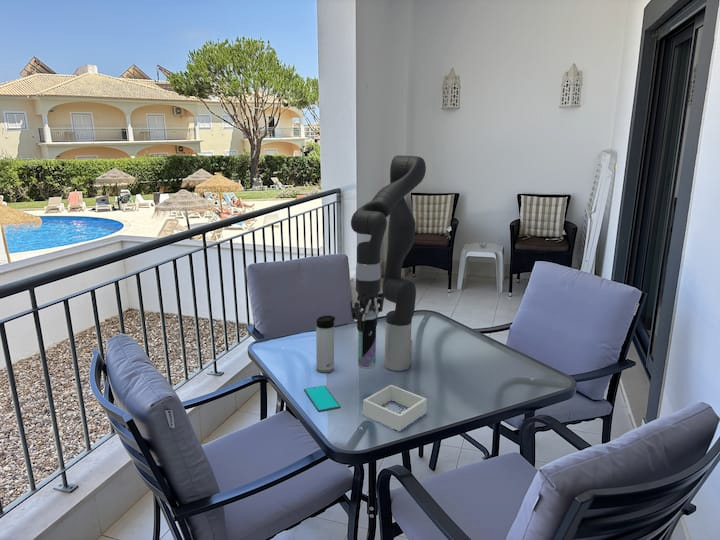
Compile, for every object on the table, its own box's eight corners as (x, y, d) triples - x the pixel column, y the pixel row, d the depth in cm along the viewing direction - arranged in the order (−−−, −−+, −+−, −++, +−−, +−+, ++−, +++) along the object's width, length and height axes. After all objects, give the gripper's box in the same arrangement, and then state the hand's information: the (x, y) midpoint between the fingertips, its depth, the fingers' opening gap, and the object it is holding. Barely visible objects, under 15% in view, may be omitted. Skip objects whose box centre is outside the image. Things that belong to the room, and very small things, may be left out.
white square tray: (390, 398, 161) (390, 384, 160) (426, 413, 153) (426, 398, 152) (362, 415, 151) (363, 400, 150) (399, 432, 143) (399, 416, 142)
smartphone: (318, 411, 152) (303, 389, 166) (318, 413, 153) (303, 391, 166) (341, 406, 155) (325, 385, 169) (341, 409, 156) (325, 387, 169)
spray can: (369, 370, 157) (370, 309, 152) (355, 366, 160) (355, 306, 155) (378, 364, 162) (379, 304, 157) (364, 360, 164) (364, 301, 159)
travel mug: (332, 374, 178) (332, 320, 173) (314, 372, 179) (314, 318, 174) (336, 366, 184) (337, 314, 179) (319, 364, 185) (319, 313, 180)
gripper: (373, 269, 161) (372, 319, 165) (343, 278, 150) (342, 332, 155) (392, 274, 156) (390, 325, 160) (362, 283, 146) (361, 338, 150)
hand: (367, 328), depth 158 cm, fingers closed on spray can, 5 cm apart
